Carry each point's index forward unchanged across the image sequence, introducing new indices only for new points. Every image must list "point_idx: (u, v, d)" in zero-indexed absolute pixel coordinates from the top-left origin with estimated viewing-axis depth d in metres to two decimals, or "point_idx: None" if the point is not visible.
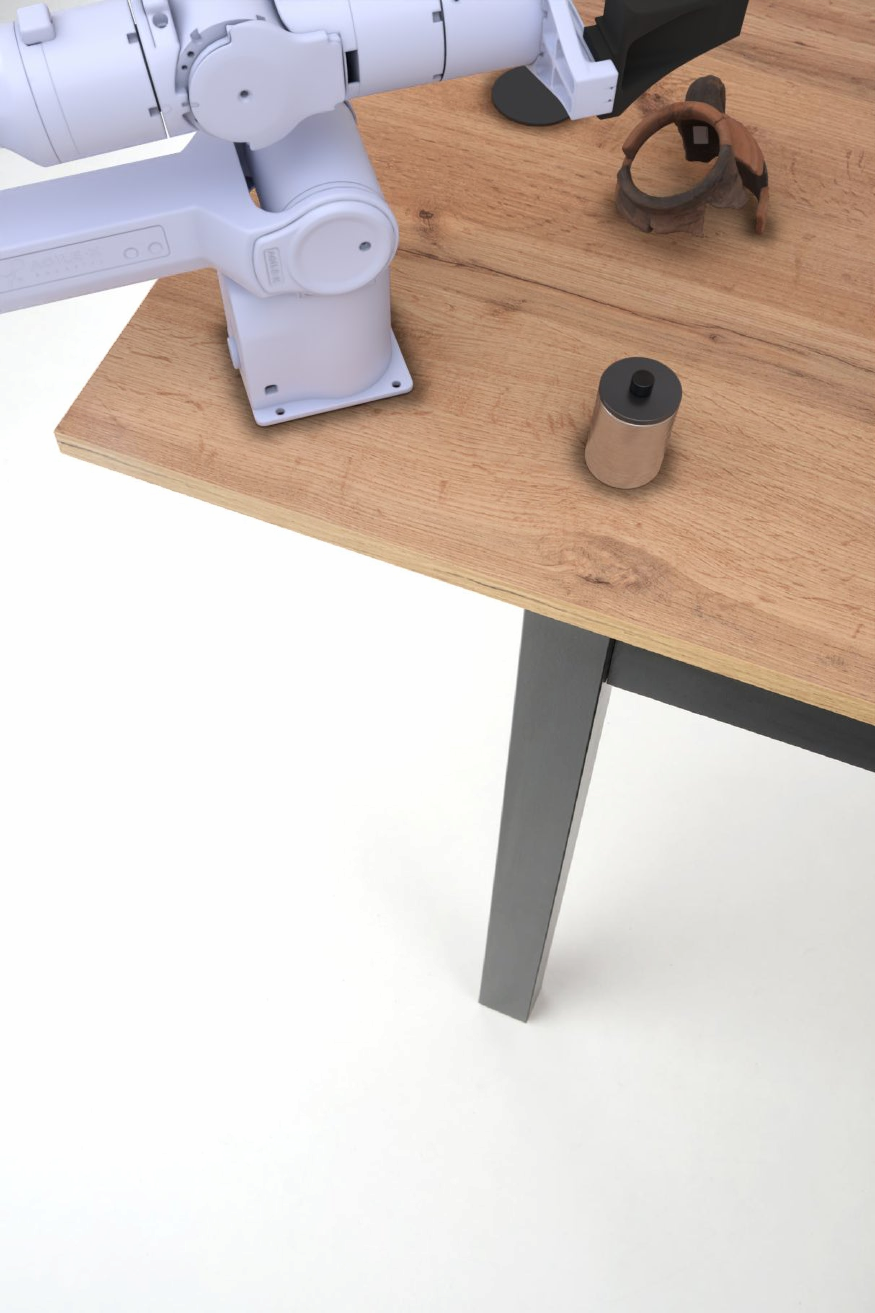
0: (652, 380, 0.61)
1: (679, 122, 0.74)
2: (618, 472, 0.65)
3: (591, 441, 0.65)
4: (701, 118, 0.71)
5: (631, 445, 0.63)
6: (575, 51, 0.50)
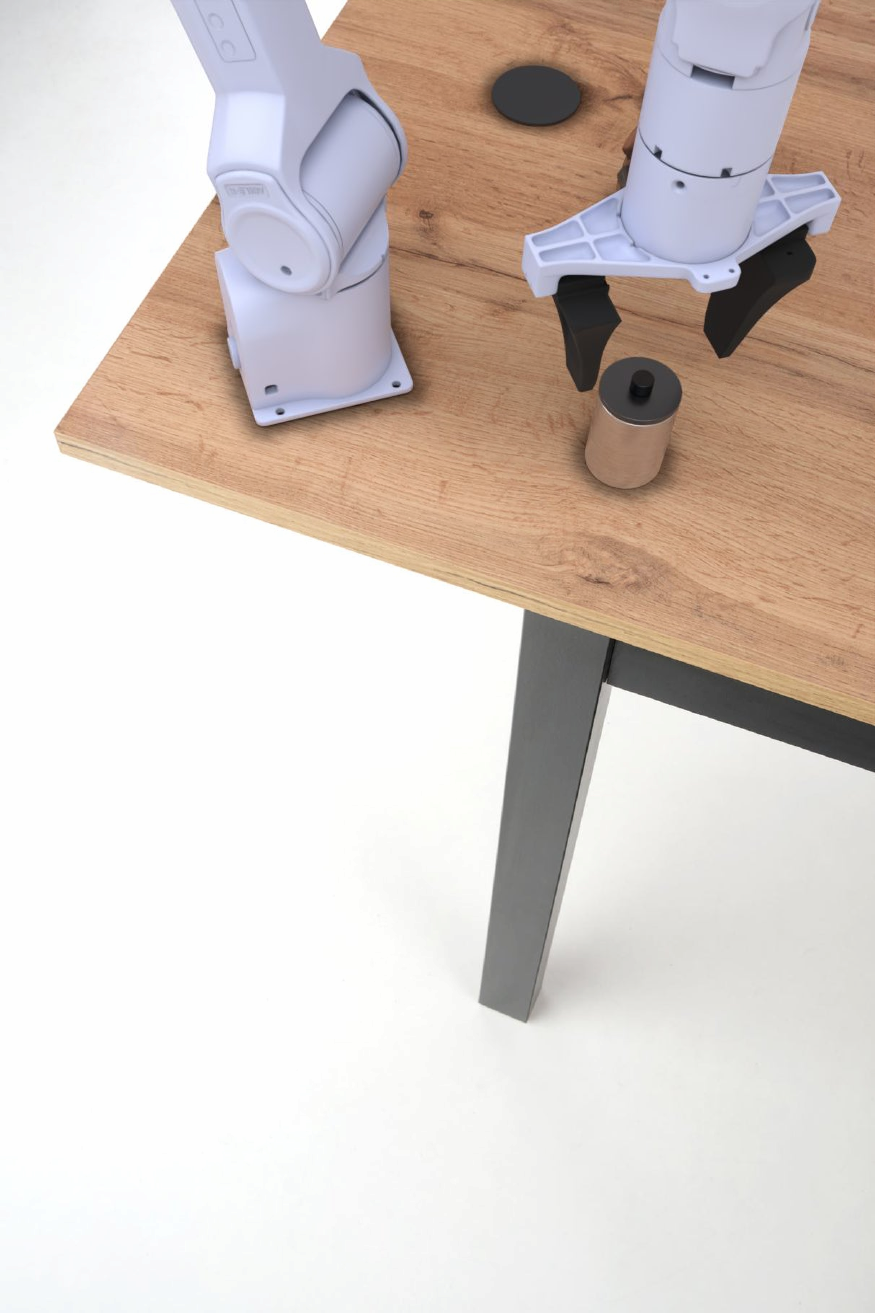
0: (652, 380, 0.61)
1: None
2: (618, 472, 0.65)
3: (591, 441, 0.65)
4: None
5: (631, 445, 0.63)
6: (573, 270, 0.51)
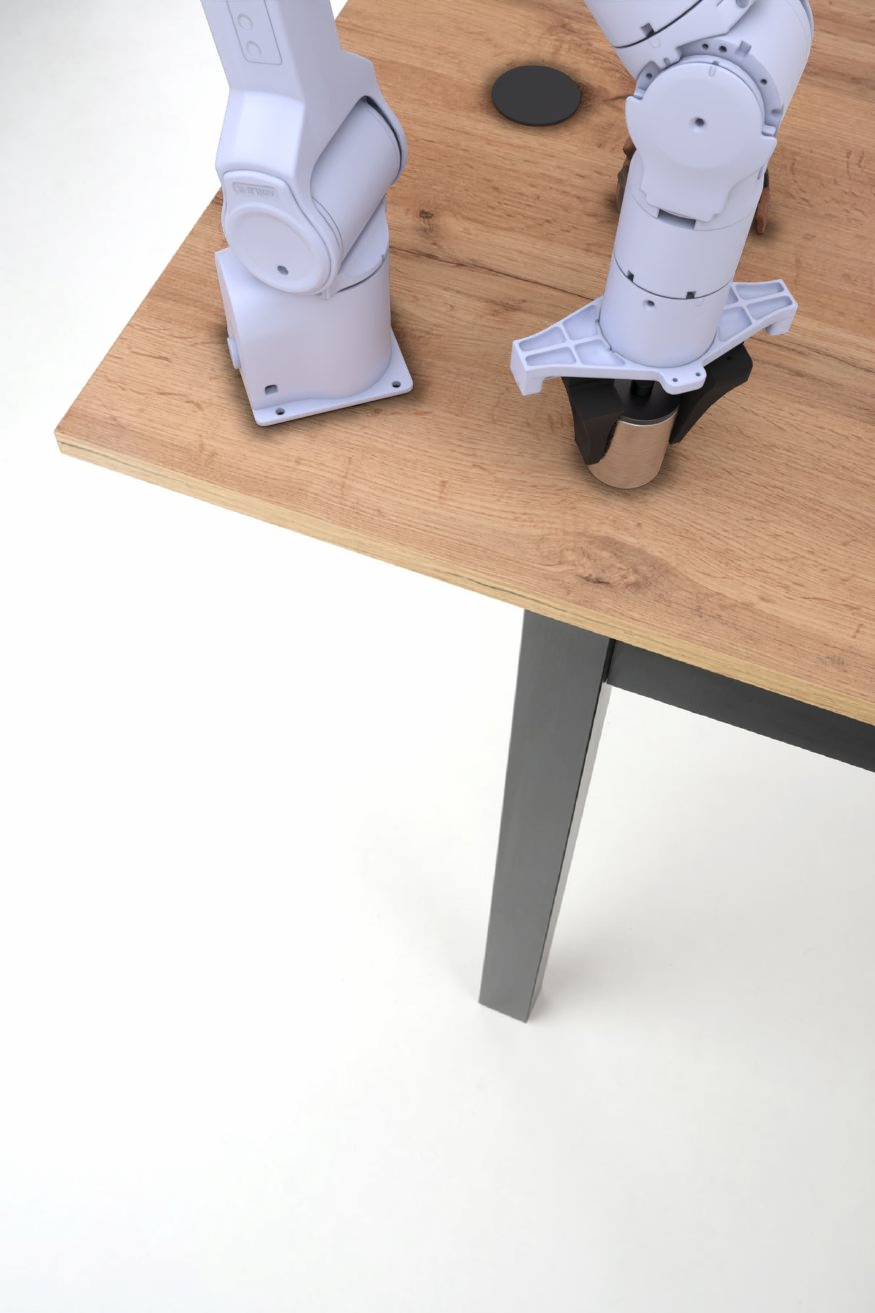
0: (652, 380, 0.61)
1: None
2: (618, 472, 0.65)
3: None
4: None
5: (631, 445, 0.63)
6: (556, 372, 0.57)
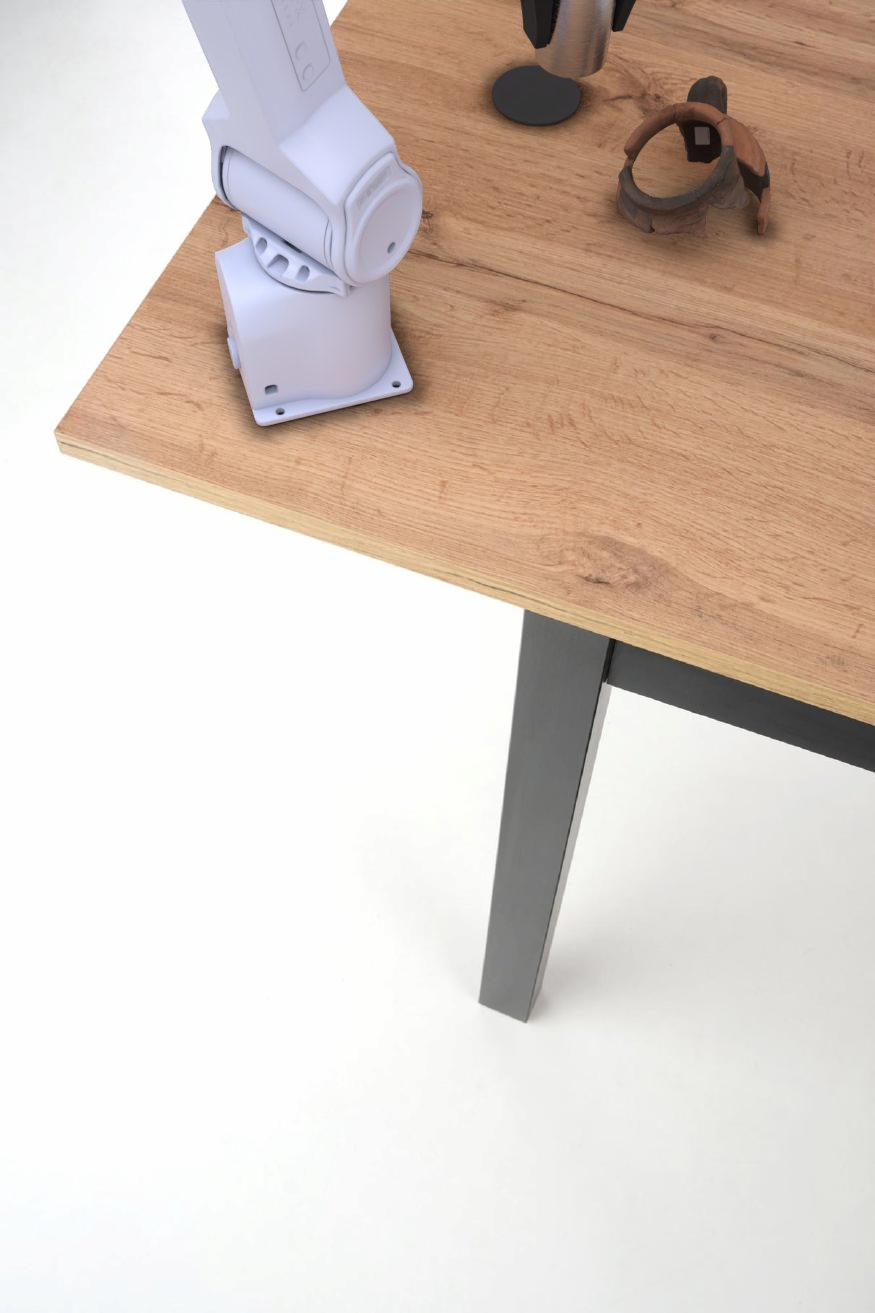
0: None
1: (681, 123, 0.74)
2: (566, 55, 0.68)
3: None
4: (703, 119, 0.71)
5: (576, 16, 0.66)
6: None
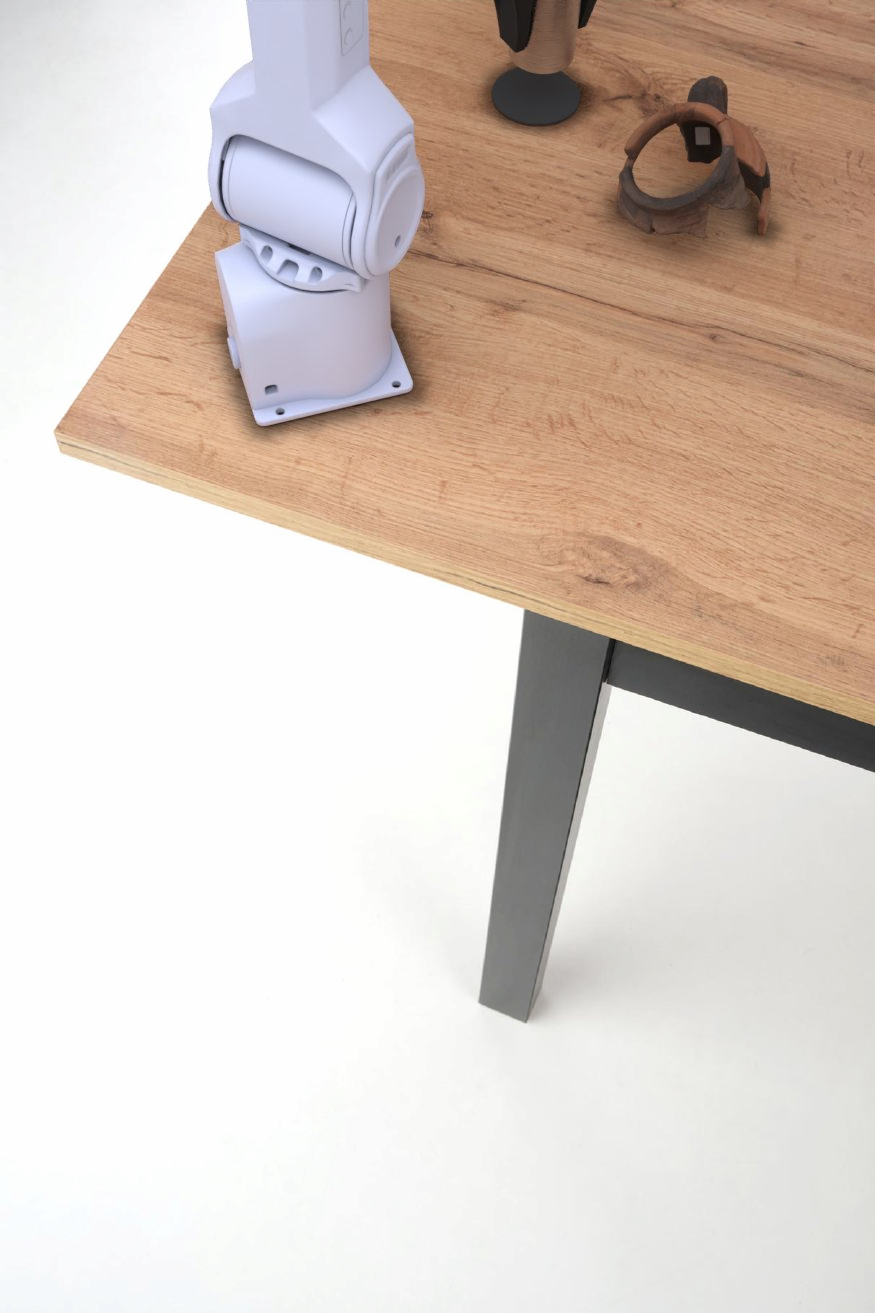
0: None
1: (681, 123, 0.74)
2: (543, 54, 0.76)
3: None
4: (703, 119, 0.71)
5: (552, 19, 0.74)
6: None
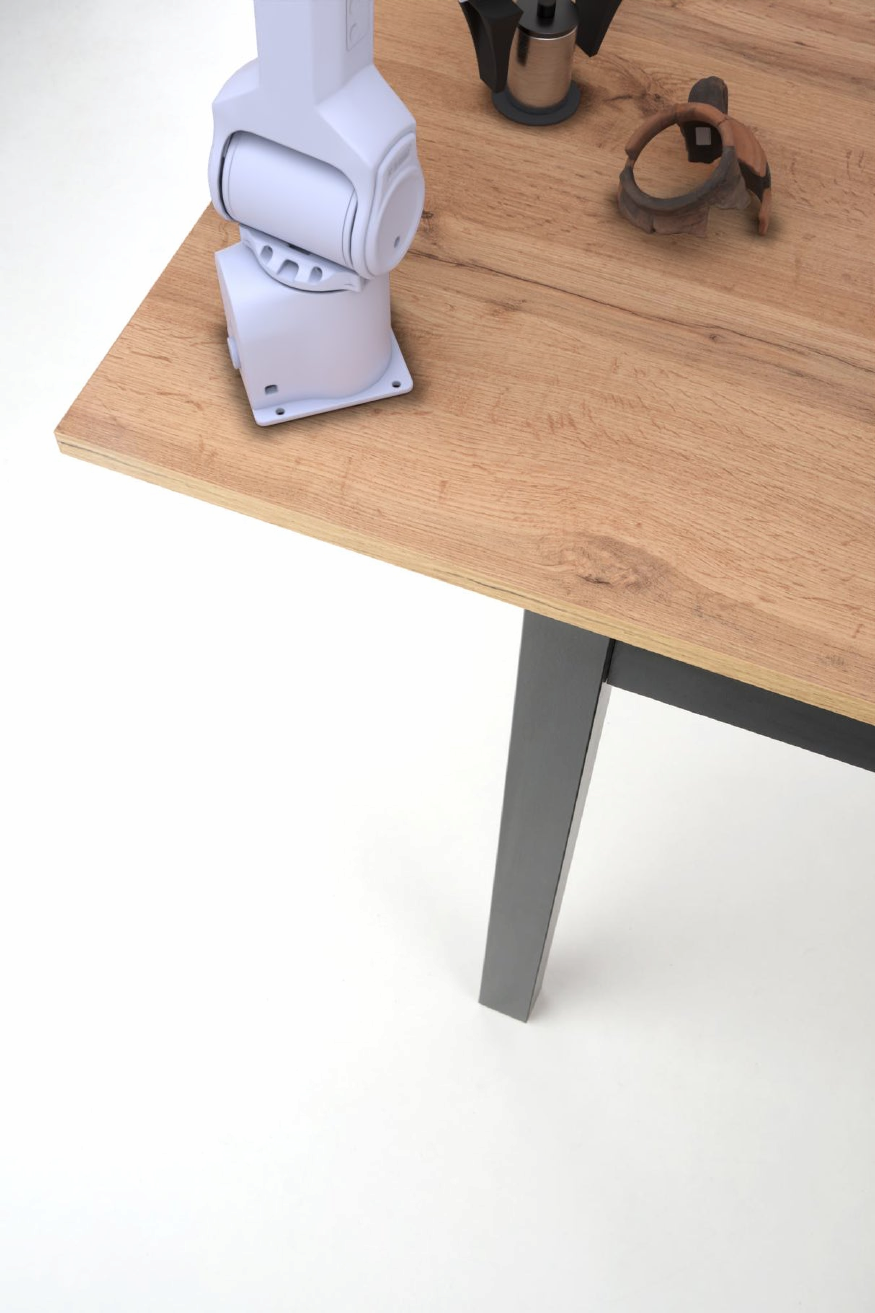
0: (554, 0, 0.75)
1: (682, 123, 0.74)
2: (538, 95, 0.79)
3: (512, 74, 0.79)
4: (704, 119, 0.71)
5: (547, 63, 0.77)
6: None
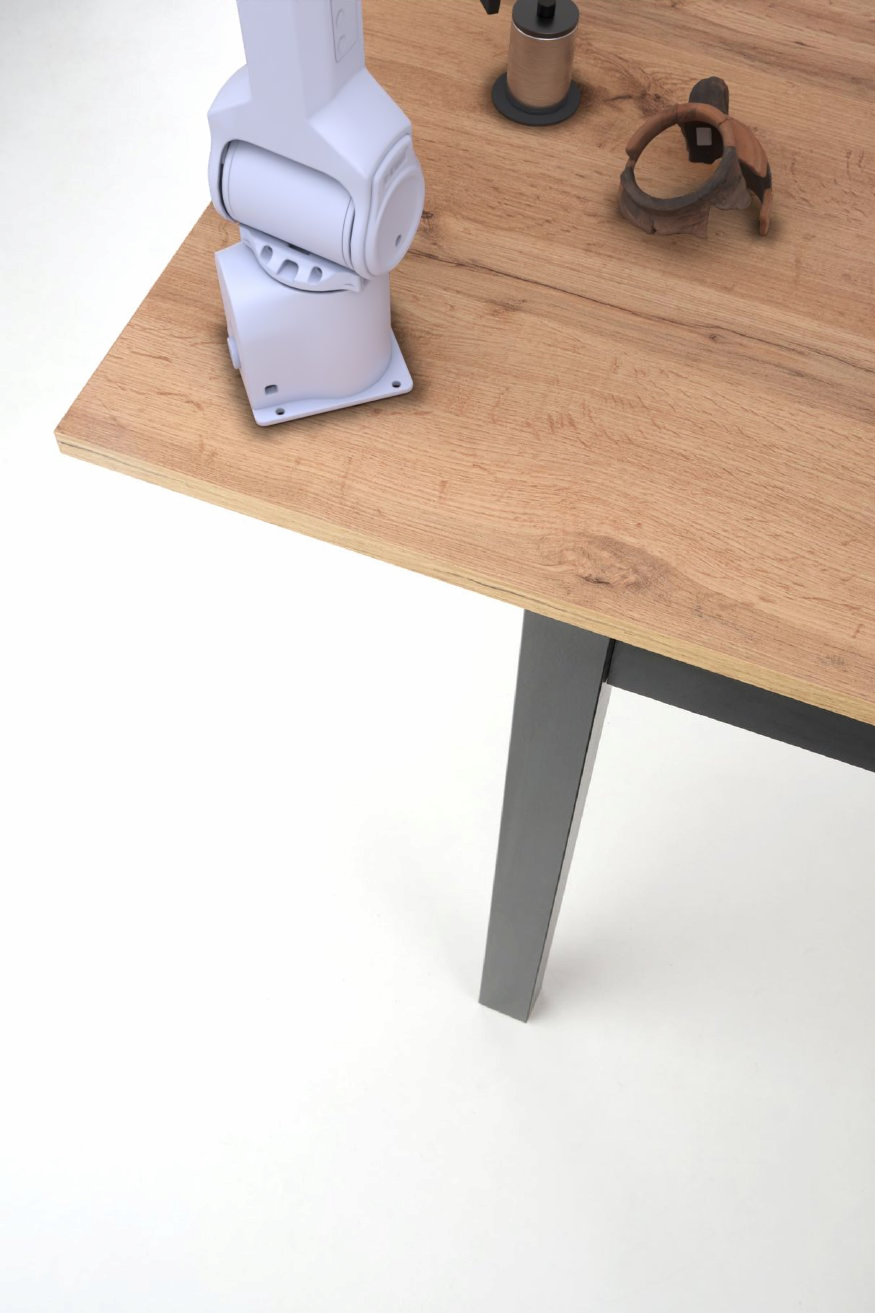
0: (554, 0, 0.75)
1: (682, 123, 0.74)
2: (538, 95, 0.79)
3: (512, 74, 0.79)
4: (705, 119, 0.71)
5: (547, 63, 0.77)
6: None
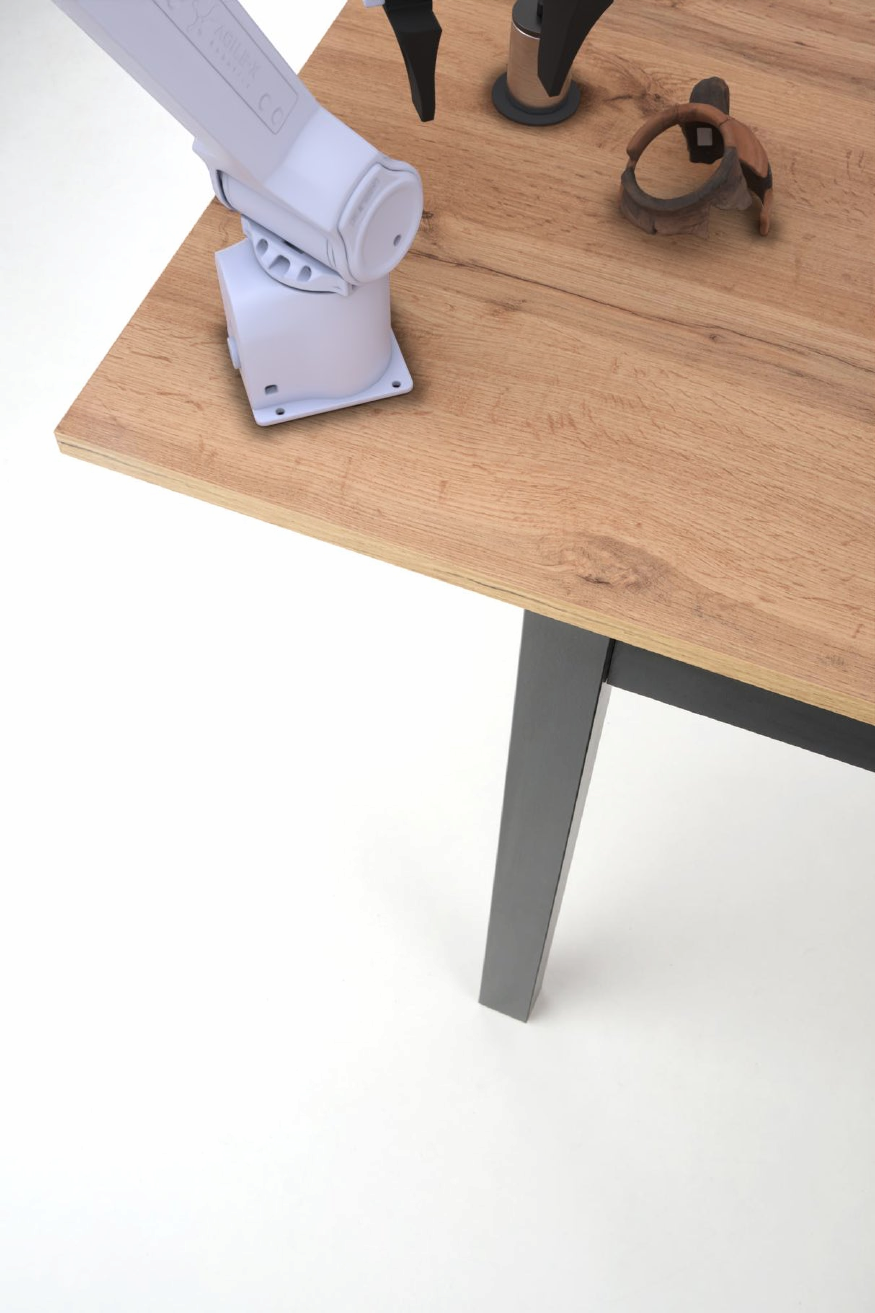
0: None
1: (683, 124, 0.74)
2: (538, 95, 0.79)
3: (512, 74, 0.79)
4: (705, 120, 0.71)
5: None
6: None
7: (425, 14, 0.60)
